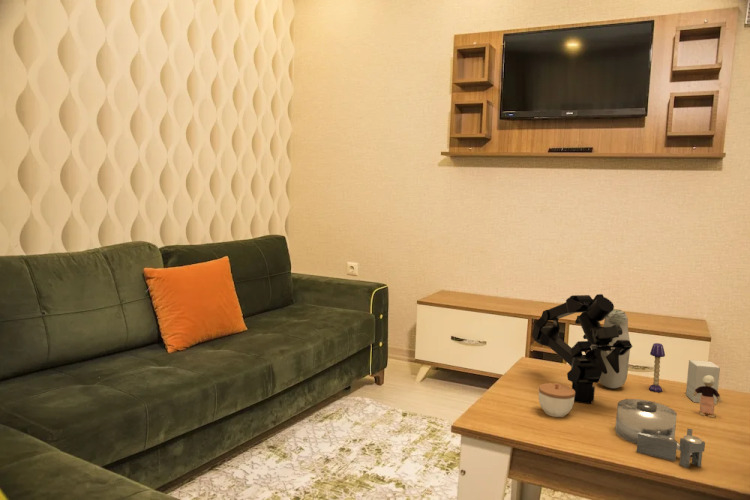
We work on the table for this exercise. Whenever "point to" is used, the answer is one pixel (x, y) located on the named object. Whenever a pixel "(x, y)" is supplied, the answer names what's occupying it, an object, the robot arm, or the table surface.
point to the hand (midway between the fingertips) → (612, 373)
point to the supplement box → (701, 377)
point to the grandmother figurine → (707, 396)
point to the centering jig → (672, 448)
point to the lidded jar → (556, 399)
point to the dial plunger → (680, 448)
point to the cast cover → (644, 419)
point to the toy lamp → (656, 365)
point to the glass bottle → (619, 378)
